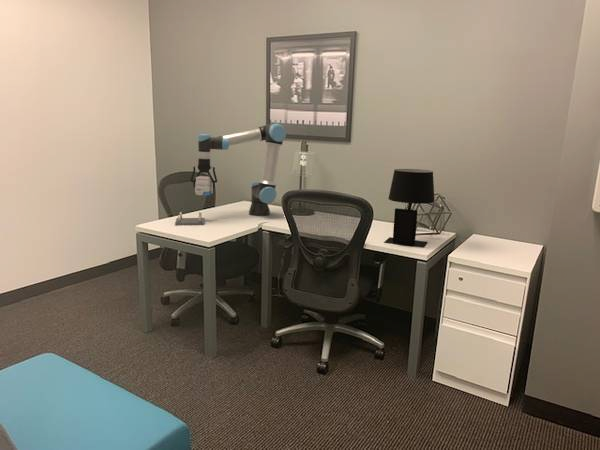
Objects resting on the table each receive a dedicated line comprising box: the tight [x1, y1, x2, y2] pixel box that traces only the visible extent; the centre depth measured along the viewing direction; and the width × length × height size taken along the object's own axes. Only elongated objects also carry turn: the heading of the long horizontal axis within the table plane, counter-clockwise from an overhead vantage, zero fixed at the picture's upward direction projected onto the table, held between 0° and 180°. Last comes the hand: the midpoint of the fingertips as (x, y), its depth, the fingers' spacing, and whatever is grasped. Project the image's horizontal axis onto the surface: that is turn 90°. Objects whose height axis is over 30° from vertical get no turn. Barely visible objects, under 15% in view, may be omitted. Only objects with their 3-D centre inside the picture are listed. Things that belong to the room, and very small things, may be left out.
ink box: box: [195, 175, 213, 197], centre depth 295 cm, size 9×8×12 cm
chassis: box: [174, 211, 205, 226], centre depth 293 cm, size 18×16×6 cm
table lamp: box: [383, 168, 435, 248], centre depth 256 cm, size 26×28×40 cm
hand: (203, 192), depth 296 cm, fingers closed on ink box, 10 cm apart
